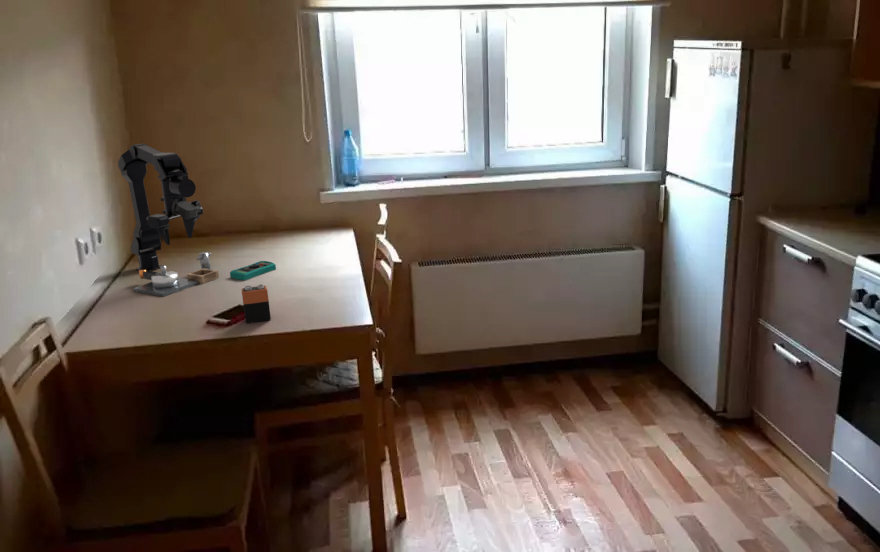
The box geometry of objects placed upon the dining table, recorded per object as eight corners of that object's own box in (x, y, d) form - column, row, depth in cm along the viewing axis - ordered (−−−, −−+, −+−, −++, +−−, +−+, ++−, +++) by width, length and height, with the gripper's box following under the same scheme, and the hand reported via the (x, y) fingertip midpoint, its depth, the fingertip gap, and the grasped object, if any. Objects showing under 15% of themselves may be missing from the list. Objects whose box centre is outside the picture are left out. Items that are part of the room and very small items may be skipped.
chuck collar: (184, 281, 251) (181, 264, 249) (164, 289, 245) (161, 270, 243) (151, 276, 259) (148, 259, 257) (131, 283, 252) (128, 265, 251)
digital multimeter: (278, 270, 265) (277, 261, 264) (244, 282, 253) (243, 273, 252) (263, 267, 269) (262, 259, 268) (229, 279, 257) (228, 270, 256)
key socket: (187, 281, 256) (186, 274, 255) (204, 275, 261) (203, 268, 260) (202, 283, 252) (201, 276, 251) (218, 277, 258) (217, 270, 257)
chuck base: (133, 291, 248) (133, 288, 248) (168, 278, 259) (168, 276, 259) (163, 296, 241) (163, 293, 241) (198, 283, 252) (197, 280, 252)
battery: (245, 319, 217) (240, 285, 215) (269, 315, 219) (265, 281, 216) (245, 324, 213) (241, 289, 211) (271, 320, 215) (266, 286, 212)
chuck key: (196, 275, 262) (193, 255, 260) (210, 270, 267) (207, 250, 265) (202, 276, 261) (199, 256, 259) (216, 271, 266) (213, 251, 264)
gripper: (167, 201, 236) (174, 251, 241) (212, 189, 251) (218, 236, 256) (142, 199, 241) (149, 247, 246) (187, 187, 256) (194, 233, 261)
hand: (179, 241), depth 252 cm, fingers open, 9 cm apart
